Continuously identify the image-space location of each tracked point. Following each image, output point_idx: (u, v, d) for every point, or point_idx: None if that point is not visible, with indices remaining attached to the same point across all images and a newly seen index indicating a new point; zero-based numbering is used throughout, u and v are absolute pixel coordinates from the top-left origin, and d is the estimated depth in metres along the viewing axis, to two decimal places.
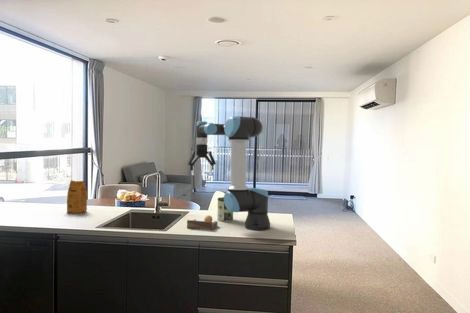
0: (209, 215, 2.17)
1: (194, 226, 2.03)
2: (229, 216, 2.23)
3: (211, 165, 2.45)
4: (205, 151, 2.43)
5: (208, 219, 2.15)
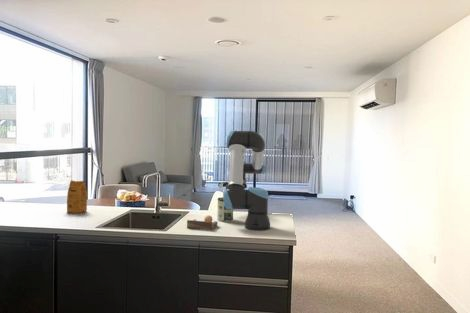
0: (209, 215, 2.17)
1: (194, 226, 2.03)
2: (229, 216, 2.23)
3: None
4: None
5: (208, 219, 2.15)
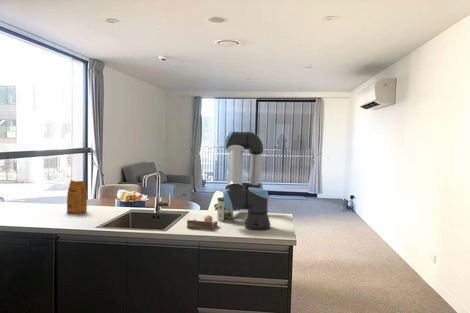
0: (209, 215, 2.17)
1: (194, 226, 2.03)
2: (229, 216, 2.23)
3: None
4: None
5: (208, 219, 2.15)
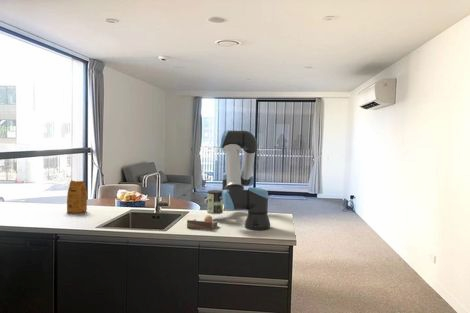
0: (209, 215, 2.17)
1: (194, 226, 2.03)
2: (218, 209, 2.25)
3: None
4: None
5: (208, 219, 2.15)
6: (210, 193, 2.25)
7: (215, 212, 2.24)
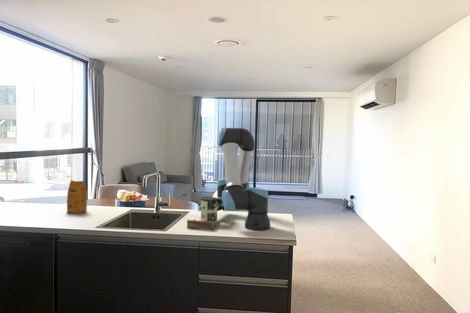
0: None
1: (194, 226, 2.03)
2: (213, 217, 2.14)
3: None
4: (219, 203, 2.30)
5: (203, 219, 2.07)
6: (204, 200, 2.13)
7: (209, 220, 2.13)
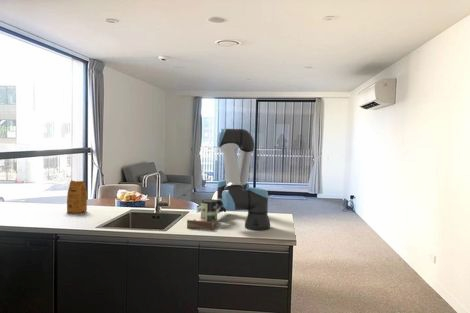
0: None
1: (194, 226, 2.03)
2: (212, 219, 2.14)
3: (220, 208, 2.19)
4: (219, 204, 2.30)
5: None
6: (204, 202, 2.13)
7: None
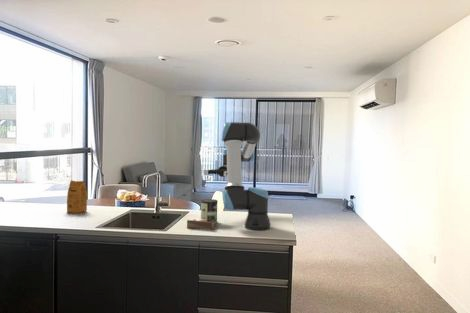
0: None
1: (194, 226, 2.03)
2: (212, 219, 2.14)
3: None
4: (224, 170, 2.40)
5: None
6: (204, 202, 2.14)
7: None
